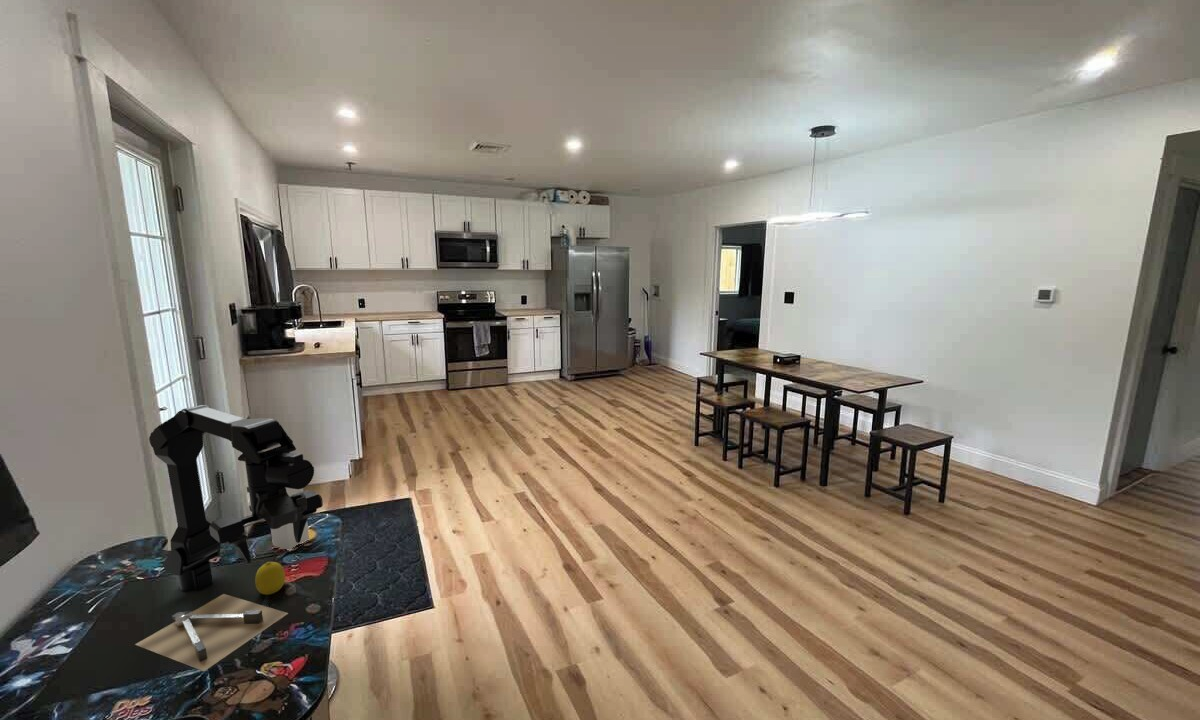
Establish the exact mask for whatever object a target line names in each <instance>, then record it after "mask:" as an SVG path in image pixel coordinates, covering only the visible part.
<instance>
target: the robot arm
mask: <svg viewBox="0 0 1200 720" xmlns="http://www.w3.org/2000/svg"><path fill="white" fill-rule="evenodd" d="M206 433H208V434H210V435H212V436H216V437H217V438H222V439H226V440H227V441H229V442H230V443H231V447H232V448H233V449H235V450H237V451H238V452H240V455H239V456H238V457H237V460H238V461H239V462H244V463H245V471H246V479H247V486H246V490H247V491H246V492H247V493H249V494H248V495H249V501H250V502H249V503H250V505H249V511H250V512H251V514H249V515H246V516H244V517H240V518H239V517H237V516H236V515H235V514H231V515H227V516H225V517H222V518H219V519H216V520H213V521H212V522H210V521H209V520H208V519H207V517H206V516H207V515H206V509H205V504H204V503H205V502H204V497H203V492H202V486H201V479H200V474H199V468H198V463H197V462H198V461H197V460H198V458H199V455H200V453H201V451H202V450H203V448H204V435H206ZM148 439H149V443H150V444H149V445H150V446H151V447H152V449H153V454H154V456H156V457H157V458H158V459H159V460H160V461H162V462H163V463H164V464H165V465H166V467H167V468H166V469H167V472H168V473H167V474H168V477H169V479H168V480H169V483H170V485H169V486H170V490H171V495H172V501H173V506H174V512H175V518H176V524H177V527H176V529H175V531H174V533H173V535H172V537H171V539H170V552H169V554H168V555H167V557H165V559H164V561H163V562H162V566H163V569H164V571H165V573H167V574H170V575H175V576H177V577H178V583H179V588H180V591H181V592H184V593H188V592H189V593H190V592H193V591H194V592H195V591H197V592H198V591H199V592H200V591H203V590H205V589H207V588H208V587H210V586H212V585H214V578H213V577H214V576H213V571H212V568H211V567H212V566H211V562H210V561H211V560H212V559H214V558H217V557H219V556H220V555H221V547H222V544H224V543H225V544H229V545H231V544H233V545H234V546H235V548H236V549H237V550H238V552H239V553H240V554H241V556H242V558H243V559H244V560H245V562H246V563H247V564H251V562H252V561H251V560H252V559H251V553H250V551H249V546H248V542H247V541H248V540H247V539H248V536H247V535H246V534H245V528H247V527H249V526H252V525H255V524H258V523H261V522H263V521H265V523H267V524H268V527H269V528H270V530H271V529H278V528H280V527H281V526H284V525H286V524H289V523H293V530H294V536H295V540H296V542H297V543H299V542H300V540H301V537H302V534H303V530H304V527H305V524H306V522H307V523H308V520H309V518H310V517H312V515H313V514H315V513H316V512H317V510H318V509H320V508H322V507H323V505H324V504H323V503H324V502H323V497H322V495H320V494H319V493H317V492H315V491H313V490H311V489H305V490H303V491H302V492H299V493H296V494H293V495H292V496H289V495H288V494H287V492H286V488H292V489H302V488H303V489H304V488H306V487H307V486H308V485H309V484H310V483H311V481H312V480H313V478H314V475H315V467H314V466H313V464H312V462H311V461H309V459H308V460H307V459H304V455H303V453H293V452H295V451H296V450H297V448H296V446H295V444H294V440H292V439H291V437H290V436H289V435H288V433H286V431H285V429H284V428H283V426H282V425H281V424H280V422H278V421H277V420H276V419H274V418H269V417H268V418H267V417H266V418H265V417H257V418H245V417H240V416H238V415H235V414H231V413H228V412H224V411H221V410H218V409H215V408H212V407H211V406H210V405H208V404H199V405H195V406H190V407H186V408H185V407H184V408H182V409H181V410H179V411H177V412H176V414H175V415H173V416H172V417H171V418H169V419H166V420H165V421H164V422H163V423H161V424H158V426H157V427H154V429H153V431H152V432H151V433H150V435H149V437H148ZM241 453H242V454H241ZM285 487H286V488H285Z"/></svg>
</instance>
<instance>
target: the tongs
mask: <svg viewBox="0 0 1200 720" xmlns="http://www.w3.org/2000/svg"><path fill="white" fill-rule="evenodd" d="M192 612H193V611H191V610H187V611H186V610H185V611H183V612H182V611H178V612H176V613H174V614H173V615H171V618H172V620H173V621H176V626H177V627H178V628H182V627H183V628H184V630H185V632H186V634H187V636H188V638H189V640H190V642H191V644H192V646H193V648H194V651H195V653H196V655H197V657H198V659H199V661H200V662H201V661H203V660H205V659H207V653H206V648H205V646H204V644H203V642H202V640H201V641H200V639H199V637H198V635H197V634H196V632H195V630H194V628H193V626H192V625H206V624H260V623H261V622H262V621H263V616H262V610H251V611H246V612H245V613H244V614H208V615H192Z"/></svg>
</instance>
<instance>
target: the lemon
mask: <svg viewBox="0 0 1200 720" xmlns="http://www.w3.org/2000/svg"><path fill="white" fill-rule="evenodd" d="M254 579H255V581H254V583H255V588H256V589H257V591H258V592H259V593H260V594H262V595H264V596H265V595H272V594H275V593H277V592H279V591H280V590H281V589H282V587H283V586H284V584H285V581H286V572H285V570H284V567H283V565H282V564H280V563H279V562H276V561H267V562H266V563H263V565H261V566H260V567H259V568H258V569H257V571H256V573H255V578H254Z"/></svg>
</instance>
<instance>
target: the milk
mask: <svg viewBox="0 0 1200 720" xmlns="http://www.w3.org/2000/svg"><path fill="white" fill-rule="evenodd" d="M285 488H286V487H285ZM302 491H304V488H302V489H292V488H286V492H287V494H288V495H289V496H292V495H293V494H296V493H299V492H302ZM308 524H309V523H308V521H307V522H306V524H305V527H304V530H303V534H302V537H301V540H300V542H299V543H297V542H296V540H295V536H294V530H293V523H289V524H286V525H284V526H281V527H280V528H278V529H271V528H270V532H271V533H270V534H271V540H272V546H273V545H274V546H277V547H280V548H284V549H289V550H290V549H292V548H293V547H295V546H296V545H298V544H300V543H302V542H304V541H305V540H307V539H309V540H310V533H309V525H308Z"/></svg>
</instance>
